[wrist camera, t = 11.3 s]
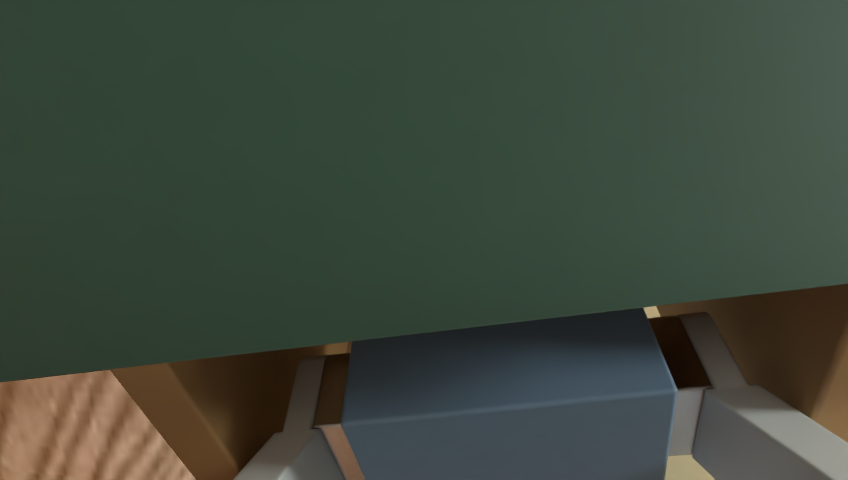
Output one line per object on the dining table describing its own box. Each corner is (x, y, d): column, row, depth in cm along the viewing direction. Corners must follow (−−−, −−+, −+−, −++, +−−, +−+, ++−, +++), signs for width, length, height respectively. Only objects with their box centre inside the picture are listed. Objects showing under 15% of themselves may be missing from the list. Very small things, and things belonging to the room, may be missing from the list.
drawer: (674, 404, 20) (781, 674, 14) (358, 435, 21) (329, 694, 15) (777, -312, 9) (1538, -539, 3) (105, -158, 10) (-380, -83, 4)
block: (597, 195, 11) (680, 390, 7) (596, 352, 13) (655, 551, 10) (366, 228, 11) (338, 425, 8) (409, 373, 14) (403, 568, 10)
